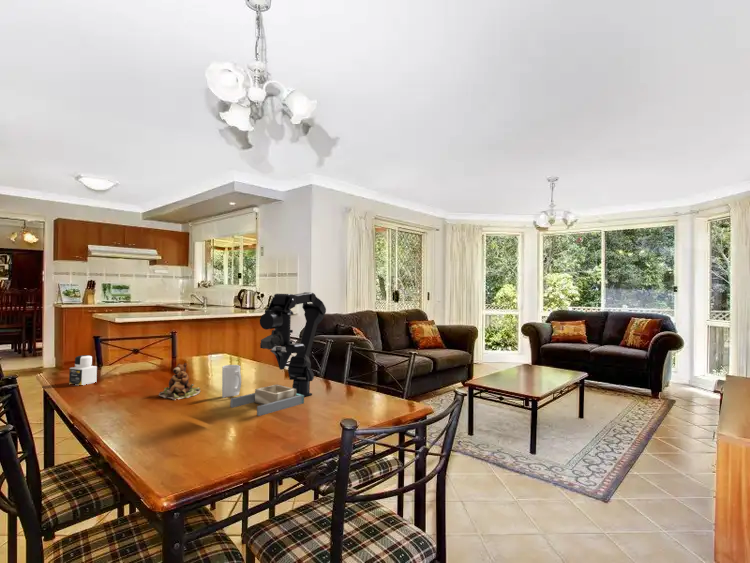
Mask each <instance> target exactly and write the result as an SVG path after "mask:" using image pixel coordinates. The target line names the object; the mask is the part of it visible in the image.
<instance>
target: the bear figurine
mask: <svg viewBox="0 0 750 563" xmlns="http://www.w3.org/2000/svg"><path fill="white" fill-rule="evenodd" d="M187 365H188V364H187V363H186V362H184V363H183V364H181V363H178V364H176V367H174V368H173V370H172V372H173V373H174V375H172V376H171V378H170V380H169V381H168V386H167V387H164V388H163V389H164V390H163V391H160V392H159V394H158V396H160V397H162V398H164V399H172V400H174V401H177V400H176V399H178V400H181V399H185V398H186V399H188V398H191V397H194V396H196V395H199V394H200V392H202V391H201V388H200V387H199V386H198V387H194V386H195V384H194V383H191V382H189V380H190V377H189V375H188V373H187V372H186V371H187Z"/></svg>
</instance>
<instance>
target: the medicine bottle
mask: <svg viewBox="0 0 750 563" xmlns="http://www.w3.org/2000/svg"><path fill="white" fill-rule="evenodd" d="M74 358H75V359H74V367H73V366H72V367H69V372H68V373H69V375H68V376H69V377H68V384H69V385H70V384H75V385H74V386H79V385H83V386H86V384H87V385H91V384H94V383H95V382H96V383H97V379H98V378H97V377H98V376H97V375H98V374H97V373H98V366H96V365H93V356H92V355H89V354H88V355H87V354H84V355H83V354H81V355H77V356H76V357H74ZM96 383H95V384H96Z"/></svg>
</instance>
